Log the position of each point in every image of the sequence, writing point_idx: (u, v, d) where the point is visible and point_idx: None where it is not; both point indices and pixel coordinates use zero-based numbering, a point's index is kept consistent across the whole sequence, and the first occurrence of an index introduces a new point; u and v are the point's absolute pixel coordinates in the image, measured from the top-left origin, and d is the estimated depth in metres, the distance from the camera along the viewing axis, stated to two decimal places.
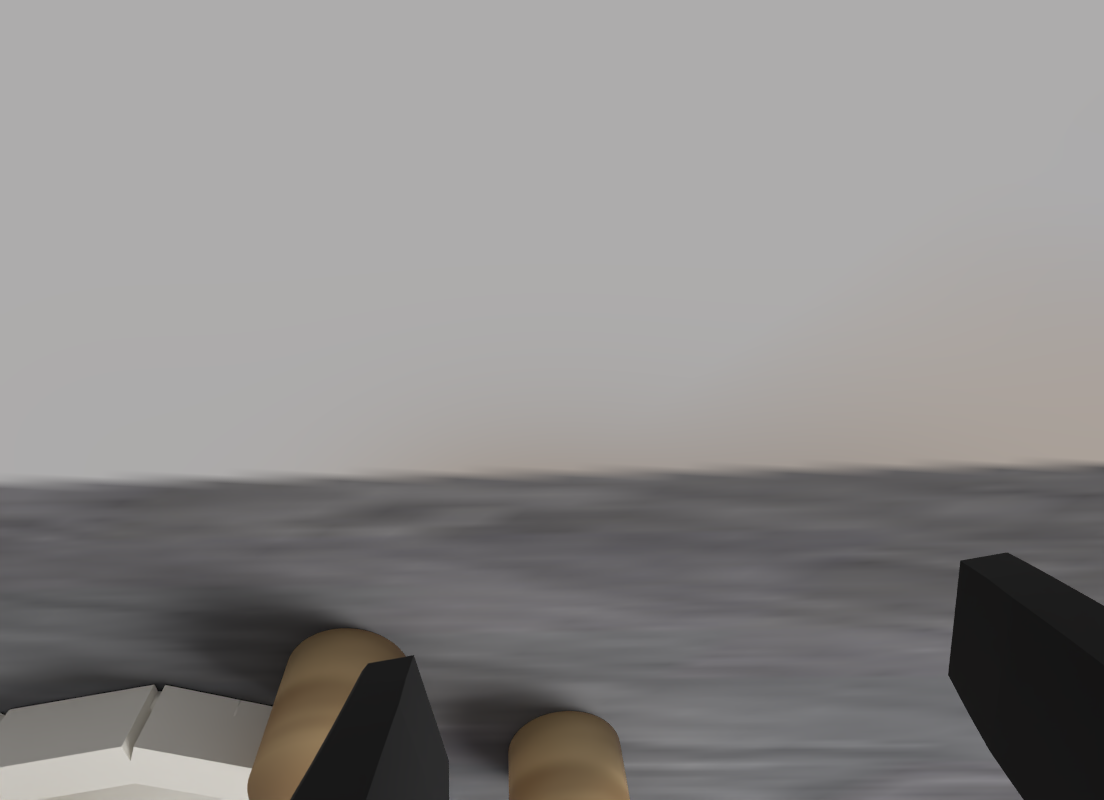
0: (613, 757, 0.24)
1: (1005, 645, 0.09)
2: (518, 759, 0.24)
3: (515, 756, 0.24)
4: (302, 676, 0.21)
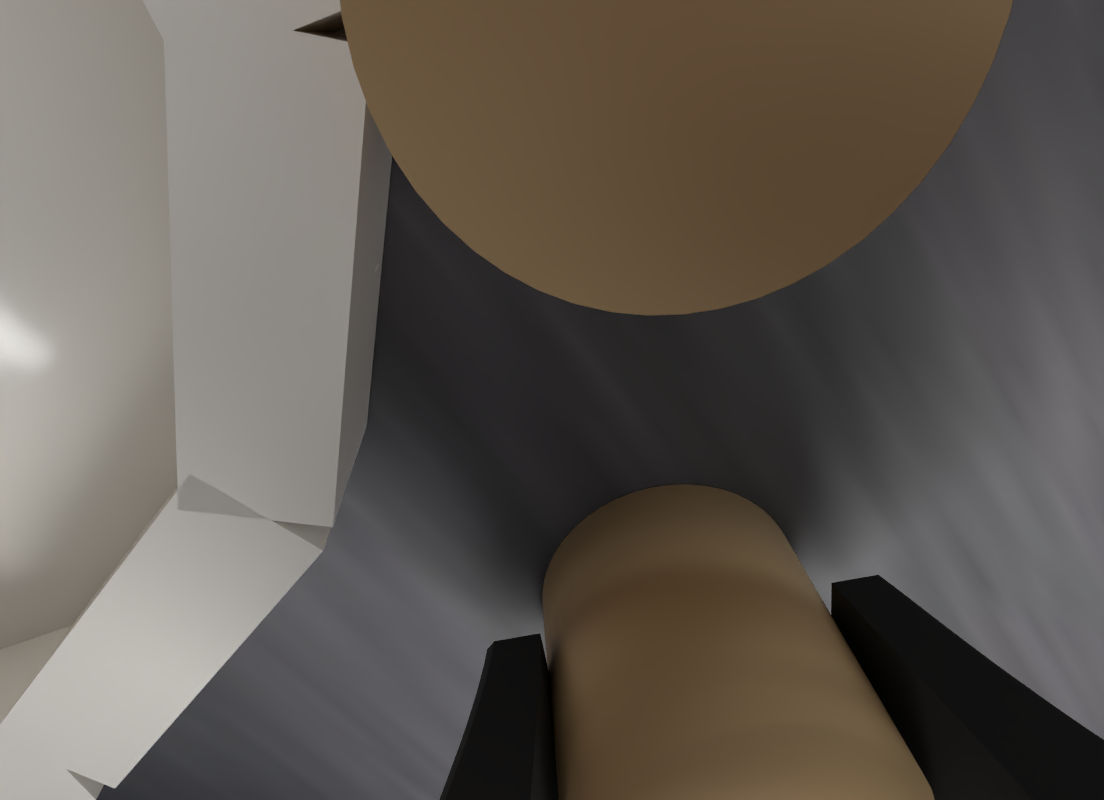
0: None
1: (866, 669, 0.09)
2: (682, 531, 0.09)
3: (663, 521, 0.10)
4: None
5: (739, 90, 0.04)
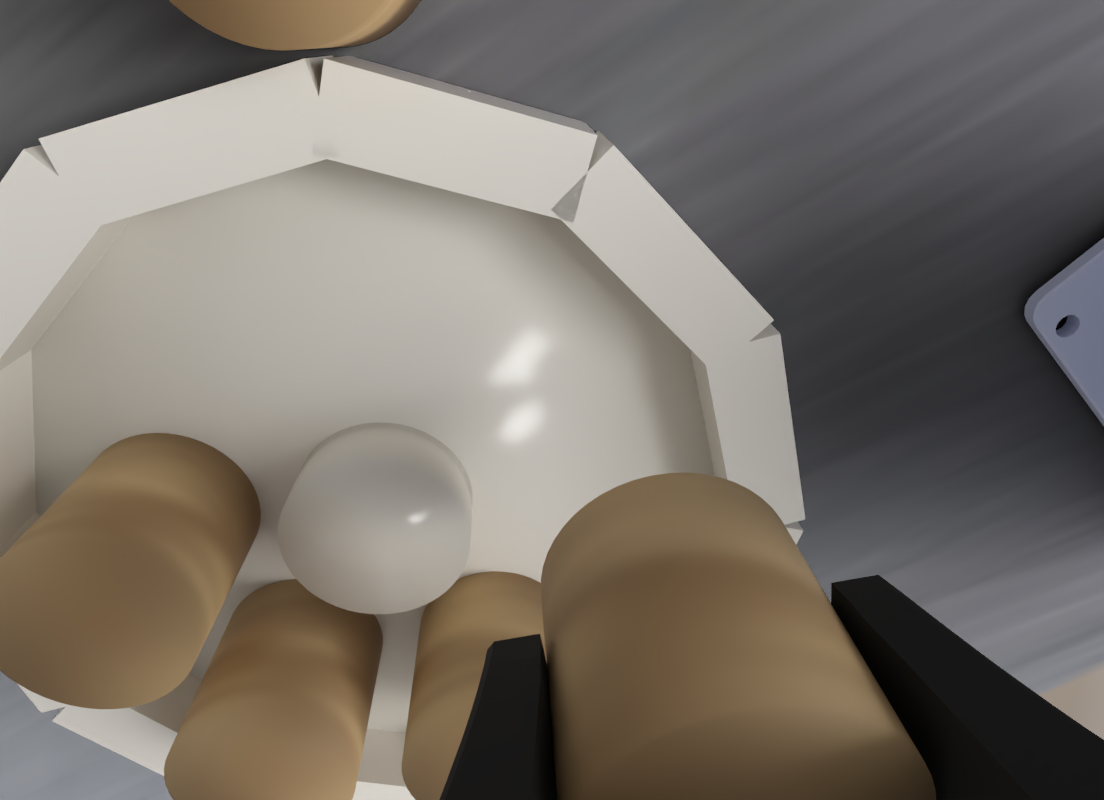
0: None
1: None
2: (683, 518, 0.09)
3: (663, 509, 0.09)
4: None
5: None
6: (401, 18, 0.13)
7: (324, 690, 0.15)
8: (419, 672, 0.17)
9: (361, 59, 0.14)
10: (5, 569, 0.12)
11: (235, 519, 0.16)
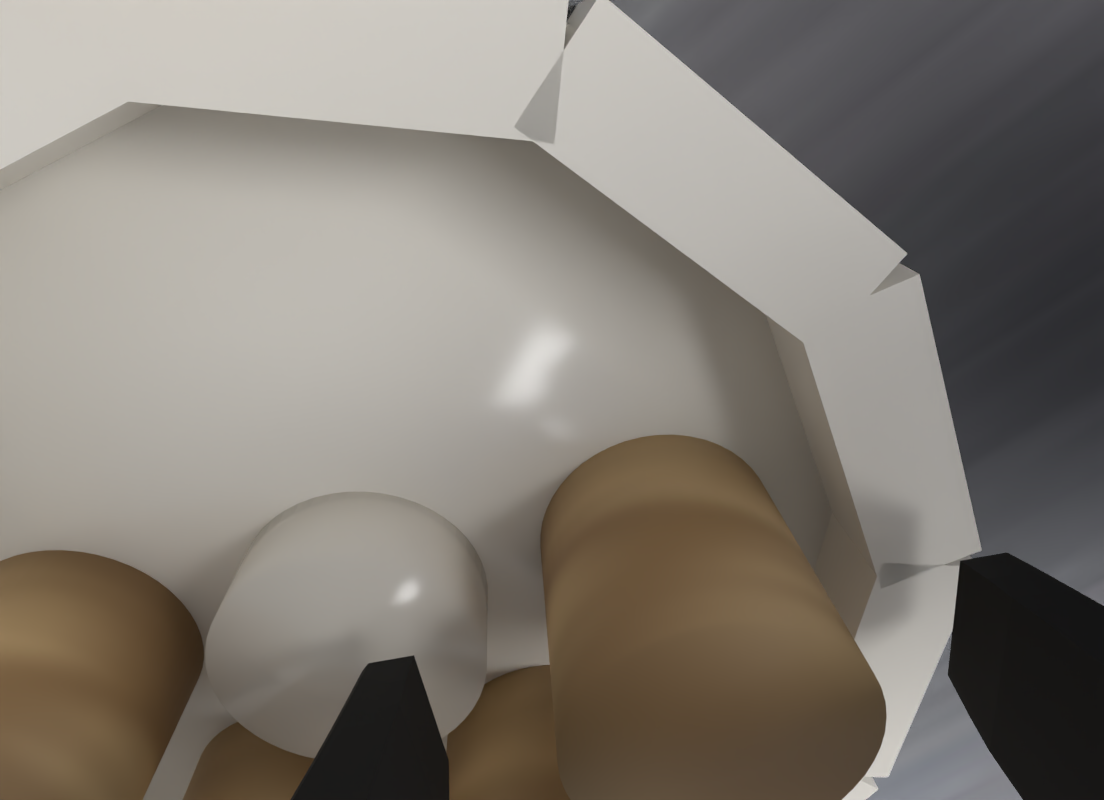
0: None
1: (1005, 645, 0.09)
2: (668, 472, 0.10)
3: (651, 464, 0.11)
4: None
5: None
6: None
7: None
8: None
9: None
10: None
11: (148, 663, 0.11)
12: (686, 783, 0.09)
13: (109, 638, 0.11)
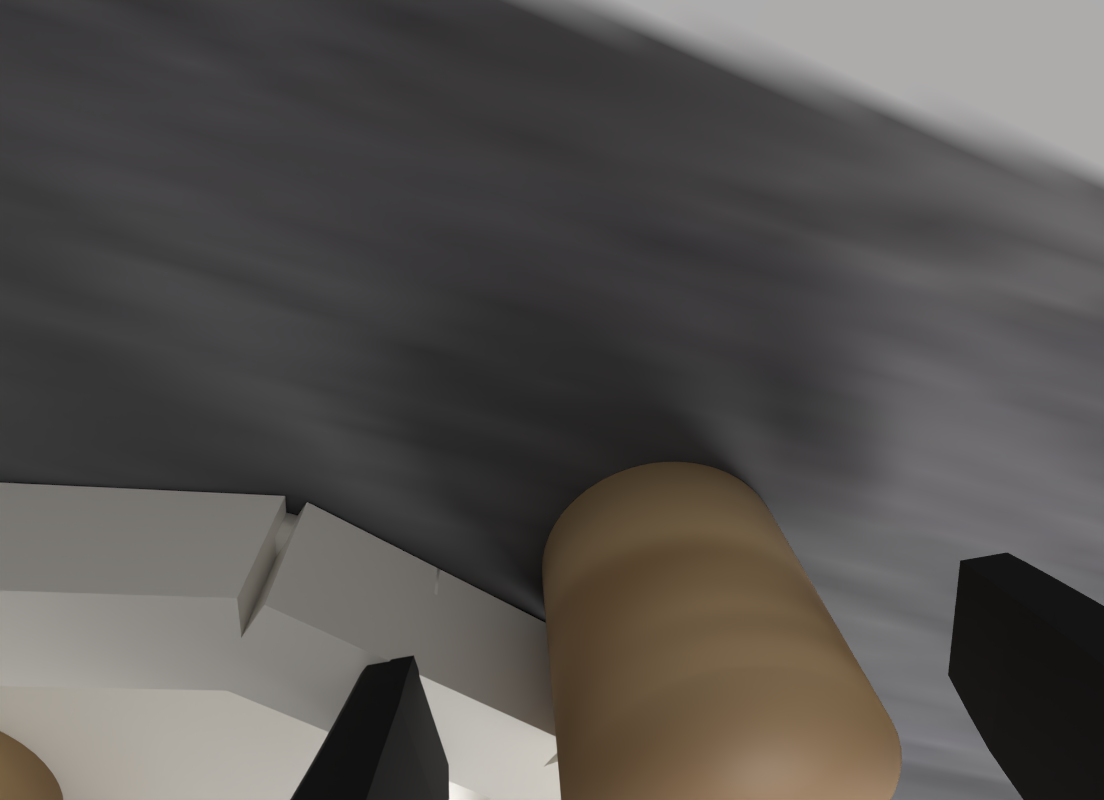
0: None
1: (1005, 645, 0.09)
2: None
3: None
4: (671, 530, 0.09)
5: None
6: None
7: None
8: None
9: None
10: None
11: None
12: None
13: None
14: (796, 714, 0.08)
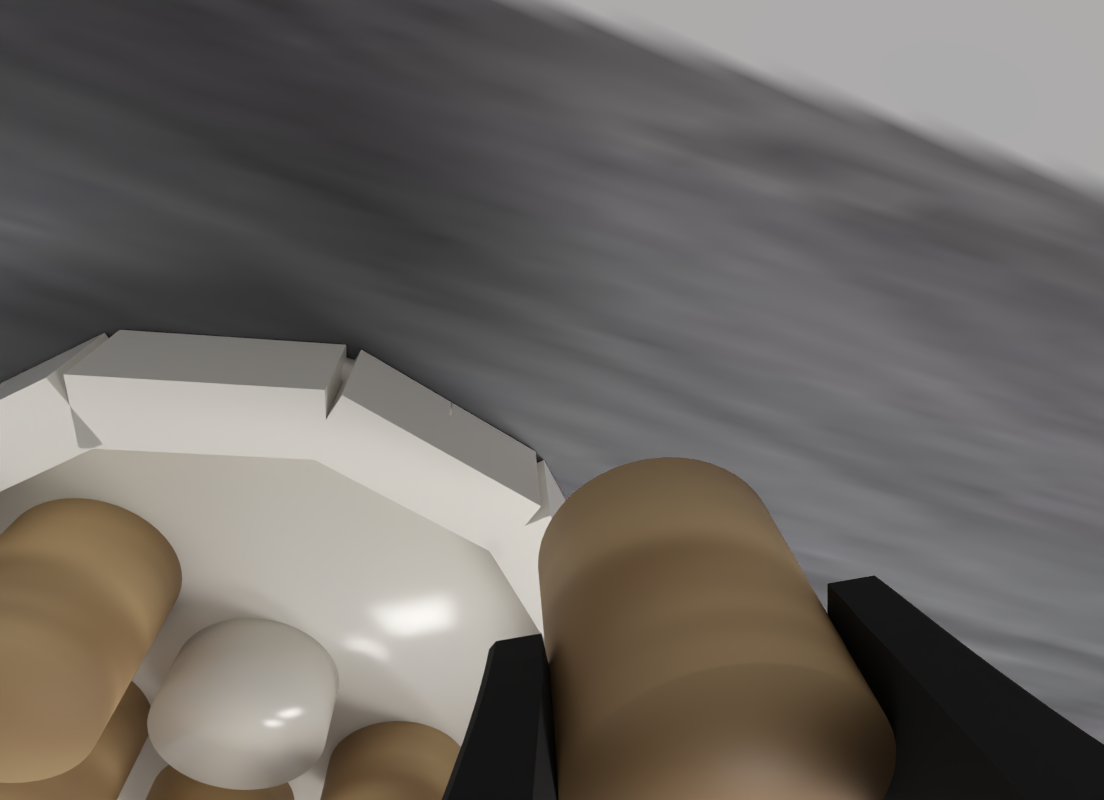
0: None
1: (862, 670, 0.09)
2: (450, 773, 0.19)
3: (446, 761, 0.19)
4: (669, 526, 0.10)
5: (777, 797, 0.08)
6: None
7: None
8: None
9: (548, 471, 0.17)
10: None
11: (151, 643, 0.16)
12: None
13: (157, 624, 0.16)
14: (793, 713, 0.08)
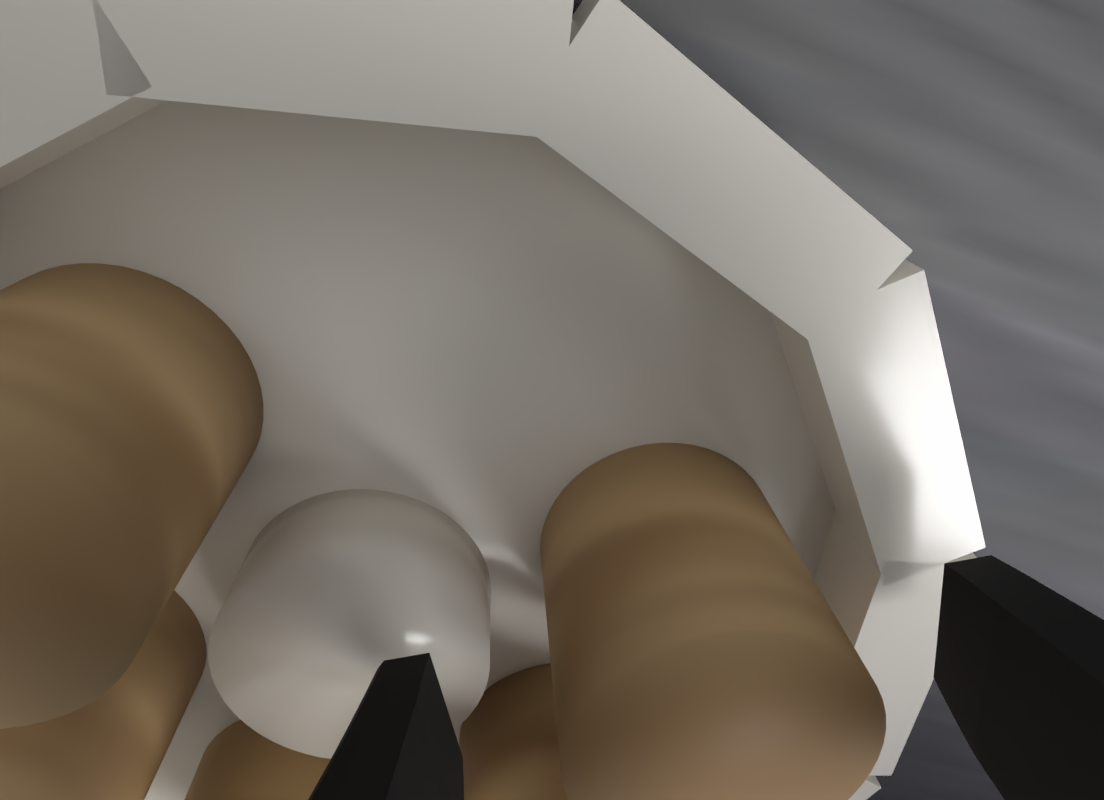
0: None
1: (988, 648, 0.09)
2: None
3: None
4: (667, 506, 0.10)
5: (771, 764, 0.09)
6: None
7: None
8: None
9: None
10: None
11: (219, 511, 0.10)
12: None
13: (232, 473, 0.10)
14: (786, 679, 0.08)
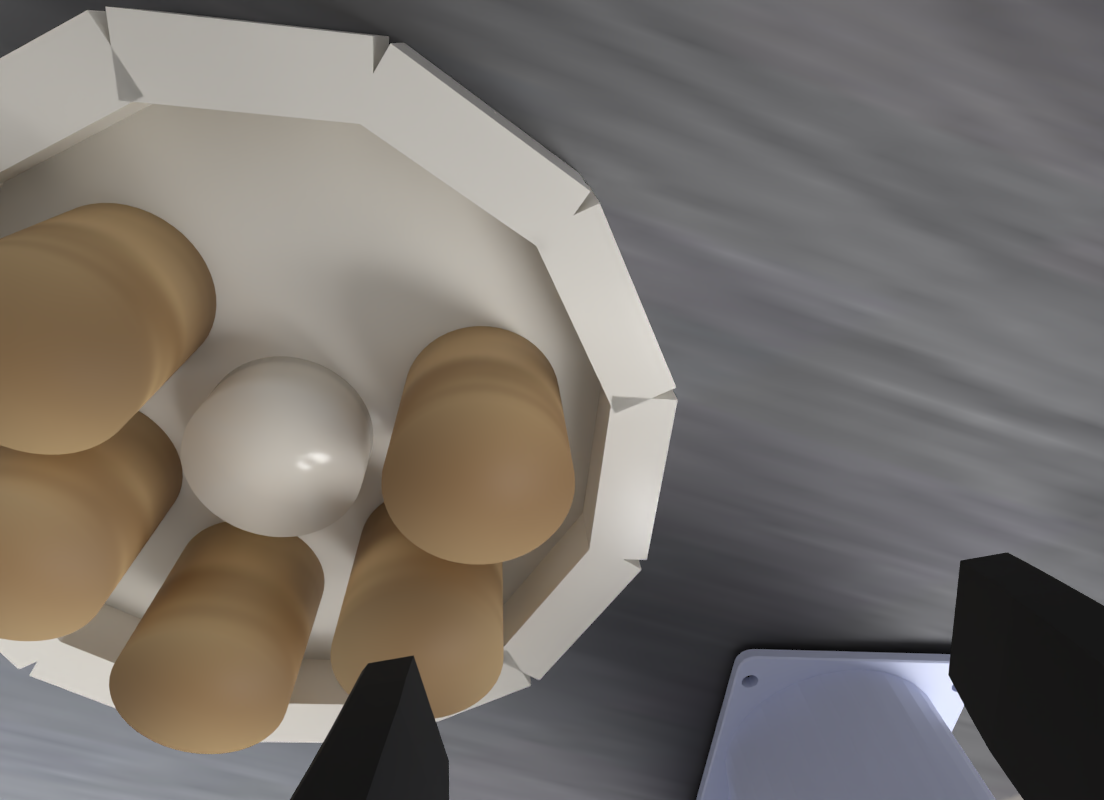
0: None
1: (1005, 645, 0.09)
2: None
3: None
4: (464, 354, 0.16)
5: (509, 495, 0.15)
6: None
7: (126, 539, 0.16)
8: (198, 577, 0.17)
9: None
10: (28, 266, 0.12)
11: (186, 357, 0.16)
12: None
13: (194, 331, 0.16)
14: (506, 435, 0.14)
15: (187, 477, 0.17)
